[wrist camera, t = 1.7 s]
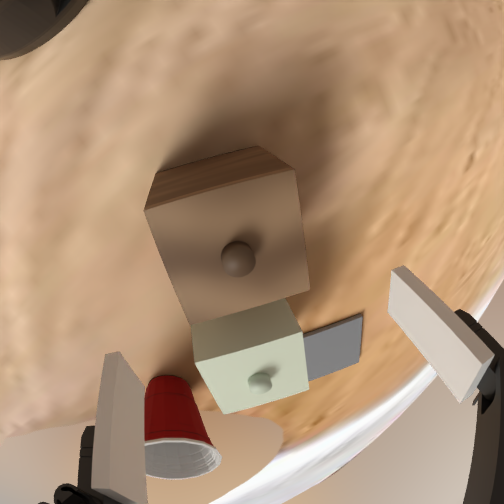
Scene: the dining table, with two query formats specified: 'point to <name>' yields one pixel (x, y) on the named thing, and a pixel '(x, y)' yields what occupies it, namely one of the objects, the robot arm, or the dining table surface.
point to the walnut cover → (229, 232)
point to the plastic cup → (175, 432)
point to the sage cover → (251, 356)
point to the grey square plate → (333, 347)
